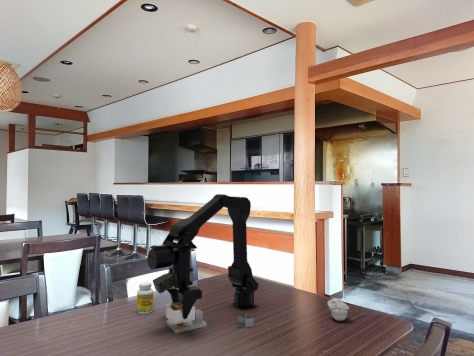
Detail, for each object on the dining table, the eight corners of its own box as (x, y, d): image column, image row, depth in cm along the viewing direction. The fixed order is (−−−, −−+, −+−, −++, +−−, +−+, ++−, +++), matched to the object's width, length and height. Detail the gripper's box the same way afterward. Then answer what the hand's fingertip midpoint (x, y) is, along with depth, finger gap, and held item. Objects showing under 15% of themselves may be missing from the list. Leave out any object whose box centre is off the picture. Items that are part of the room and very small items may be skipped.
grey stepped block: (246, 321, 109) (246, 311, 109) (253, 325, 106) (253, 315, 106) (232, 324, 106) (232, 314, 106) (238, 329, 103) (238, 319, 103)
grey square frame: (186, 312, 109) (186, 300, 109) (194, 319, 103) (195, 306, 103) (165, 316, 106) (166, 303, 106) (173, 324, 100) (174, 310, 100)
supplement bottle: (149, 307, 119) (150, 280, 120) (155, 312, 115) (155, 284, 115) (134, 310, 117) (135, 282, 117) (139, 315, 112) (140, 286, 112)
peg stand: (195, 317, 112) (195, 297, 112) (206, 326, 105) (206, 305, 105) (166, 323, 106) (166, 302, 106) (175, 333, 99) (176, 311, 100)
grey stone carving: (327, 315, 115) (328, 294, 115) (349, 318, 113) (349, 297, 113) (326, 321, 110) (326, 300, 110) (349, 325, 107) (349, 303, 107)
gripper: (146, 261, 109) (145, 309, 108) (166, 274, 93) (165, 332, 92) (179, 257, 114) (178, 303, 114) (203, 269, 98) (202, 323, 98)
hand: (180, 314), depth 105 cm, fingers closed on grey square frame, 7 cm apart
